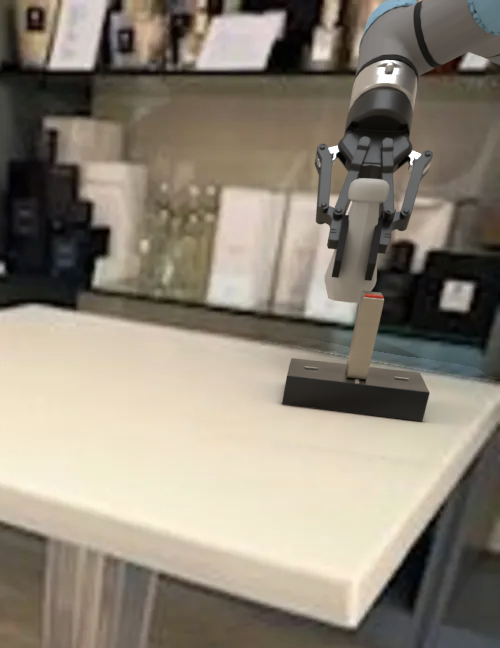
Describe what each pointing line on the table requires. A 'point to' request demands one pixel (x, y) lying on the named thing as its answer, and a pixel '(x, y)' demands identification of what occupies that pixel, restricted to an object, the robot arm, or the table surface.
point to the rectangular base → (356, 390)
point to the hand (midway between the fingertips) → (353, 270)
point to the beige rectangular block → (364, 335)
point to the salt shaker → (357, 241)
